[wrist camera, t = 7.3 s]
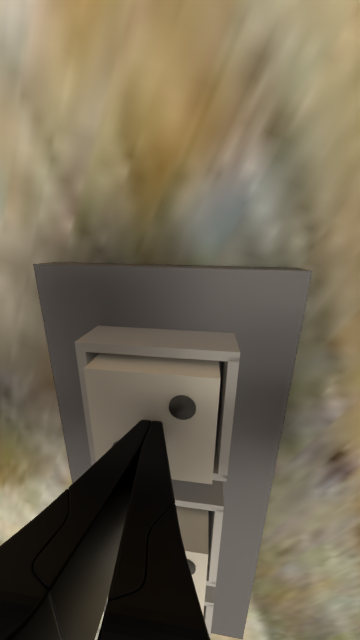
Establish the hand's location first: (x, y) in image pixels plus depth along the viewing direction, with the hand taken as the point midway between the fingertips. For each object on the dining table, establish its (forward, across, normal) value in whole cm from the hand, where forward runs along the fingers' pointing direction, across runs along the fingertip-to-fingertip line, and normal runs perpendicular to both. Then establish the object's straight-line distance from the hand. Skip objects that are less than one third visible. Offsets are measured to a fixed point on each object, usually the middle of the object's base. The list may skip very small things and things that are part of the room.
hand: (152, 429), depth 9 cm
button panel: (+4, 0, +8) cm, 9 cm away
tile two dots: (+2, 0, 0) cm, 2 cm away
